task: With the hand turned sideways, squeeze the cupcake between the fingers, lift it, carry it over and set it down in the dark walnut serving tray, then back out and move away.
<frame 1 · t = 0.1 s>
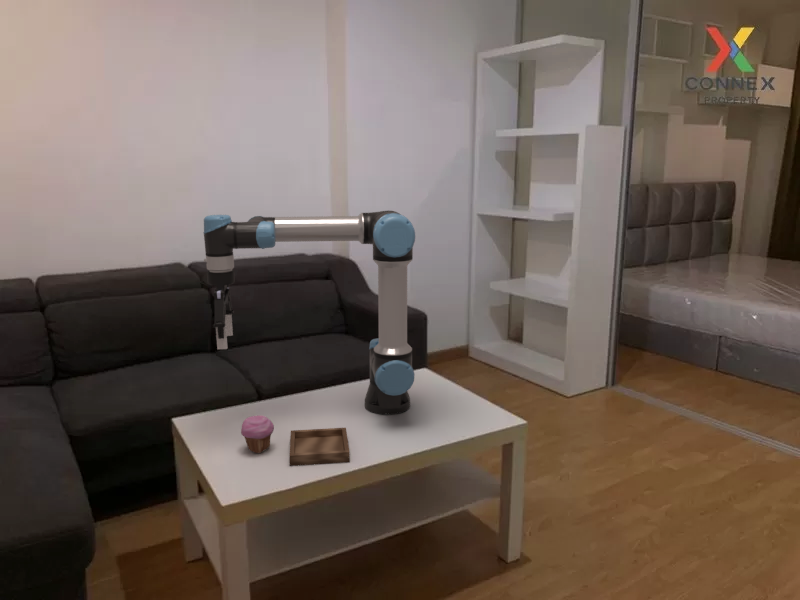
hand: (225, 342, 187), 28 cm above the table, tool pointing down, fingers open, 13 cm apart
cupcake: (258, 450, 181), on the table
serving tray: (319, 450, 181), on the table
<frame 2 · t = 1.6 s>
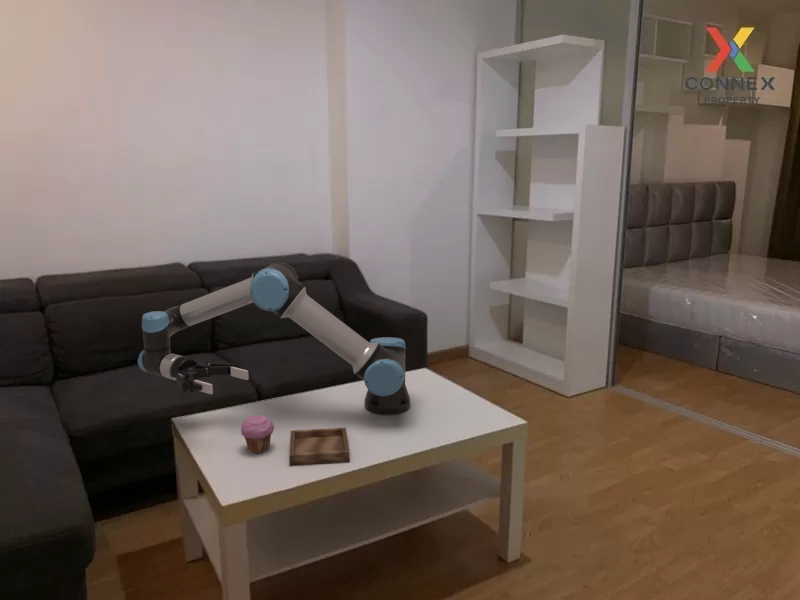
hand: (230, 382, 182), 18 cm above the table, tool horizontal, fingers open, 13 cm apart
nothing on the table moved.
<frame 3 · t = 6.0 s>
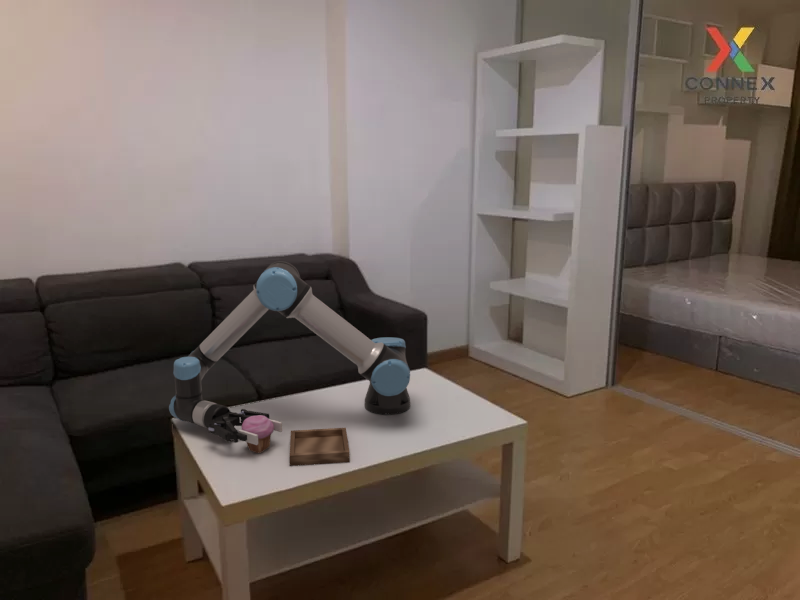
hand: (269, 433, 178), 6 cm above the table, tool horizontal, fingers closed on cupcake, 9 cm apart
cupcake: (258, 450, 181), on the table, touching gripper
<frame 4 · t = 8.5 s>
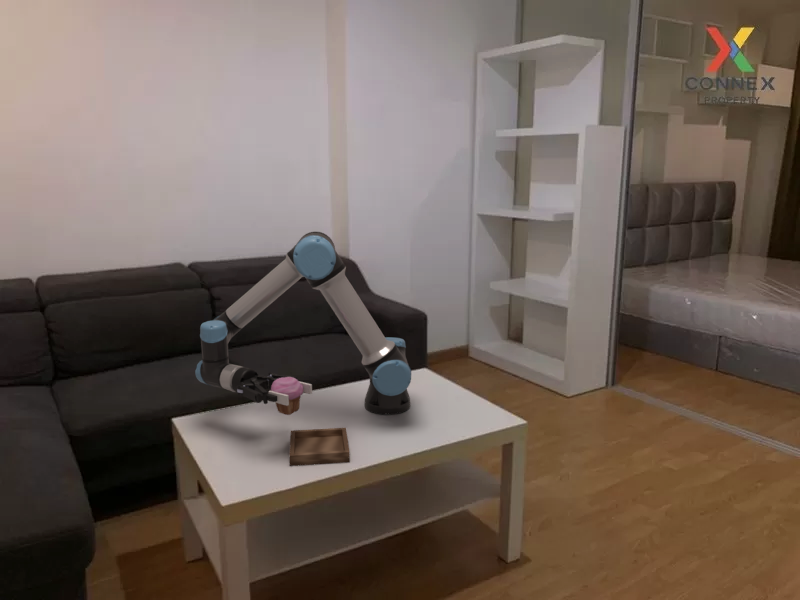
hand: (299, 394, 174), 18 cm above the table, tool horizontal, fingers closed on cupcake, 9 cm apart
cupcake: (287, 412, 178), point 11 cm above the table, touching gripper
when the fingers open (8 cm above the table, at t = 11.3 s): cupcake drops 1 cm, resting on serving tray.
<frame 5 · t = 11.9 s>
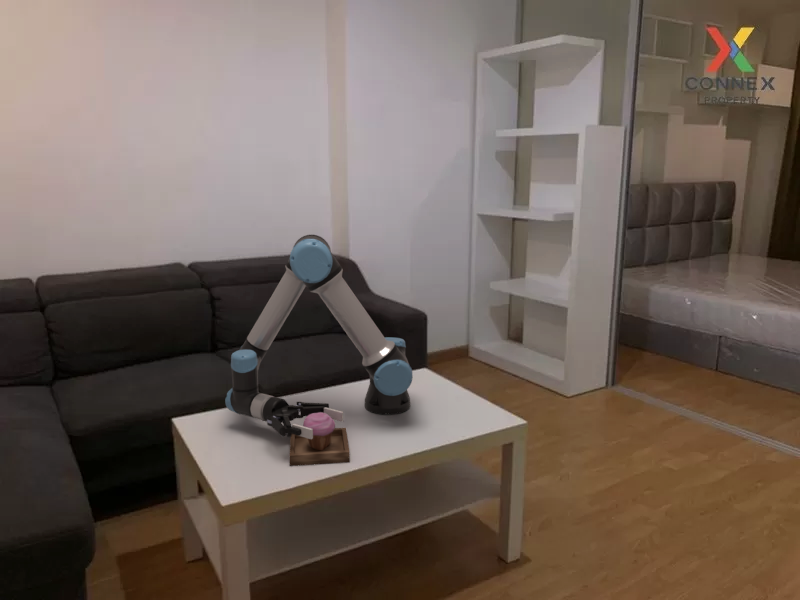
hand: (327, 425, 177), 8 cm above the table, tool horizontal, fingers open, 13 cm apart
cupcake: (319, 447, 181), point 1 cm above the table, touching serving tray
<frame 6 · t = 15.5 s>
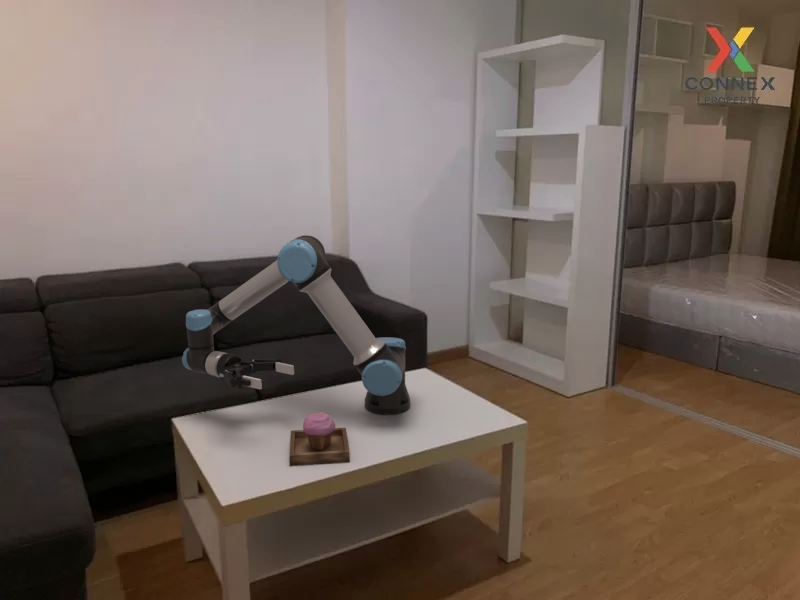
hand: (277, 377, 184), 19 cm above the table, tool horizontal, fingers open, 13 cm apart
nothing on the table moved.
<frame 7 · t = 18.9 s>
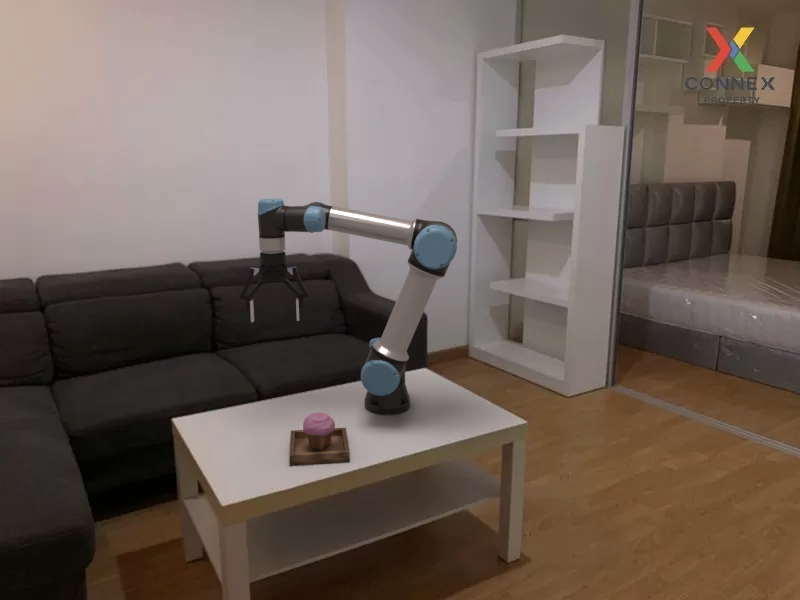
hand: (275, 320, 196), 32 cm above the table, tool pointing down, fingers open, 13 cm apart
nothing on the table moved.
at the end: cupcake inside the target area on the serving tray (0.3 cm from its centre), point 0.8 cm above the serving tray's base; cupcake tilted 0°; the gripper is holding nothing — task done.
